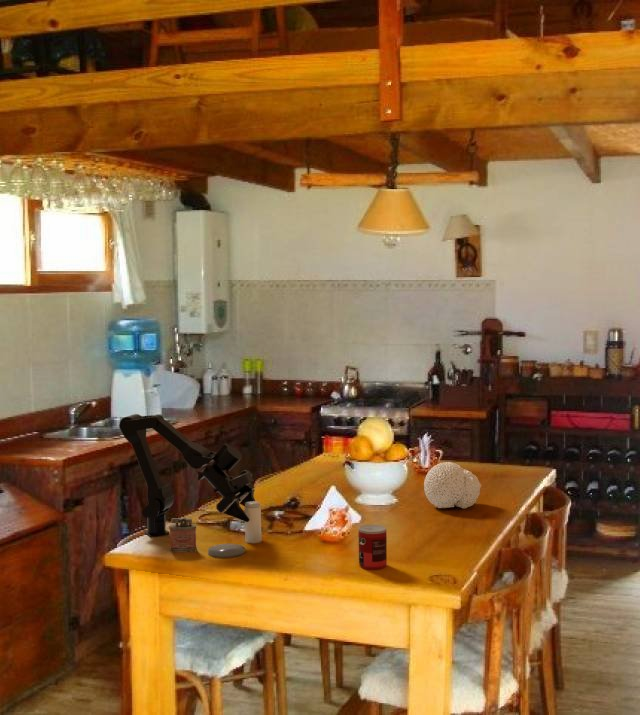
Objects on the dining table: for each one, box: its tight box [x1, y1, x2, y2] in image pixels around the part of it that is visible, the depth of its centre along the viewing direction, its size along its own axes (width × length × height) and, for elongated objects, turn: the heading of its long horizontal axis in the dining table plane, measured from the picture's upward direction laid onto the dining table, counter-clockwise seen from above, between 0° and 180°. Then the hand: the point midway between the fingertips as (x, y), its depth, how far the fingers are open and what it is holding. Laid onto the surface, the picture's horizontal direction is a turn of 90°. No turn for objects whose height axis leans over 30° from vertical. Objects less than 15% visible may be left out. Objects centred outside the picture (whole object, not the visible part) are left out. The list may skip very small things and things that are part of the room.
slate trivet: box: [207, 543, 246, 559], centre depth 292 cm, size 11×11×1 cm
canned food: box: [358, 524, 388, 571], centre depth 276 cm, size 8×8×11 cm
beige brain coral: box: [423, 461, 482, 509], centre depth 340 cm, size 20×18×16 cm
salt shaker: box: [243, 500, 262, 544], centre depth 302 cm, size 5×5×12 cm
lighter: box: [168, 516, 198, 553], centre depth 294 cm, size 8×3×10 cm, turn 92°
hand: (254, 517), depth 302 cm, fingers open, 9 cm apart
